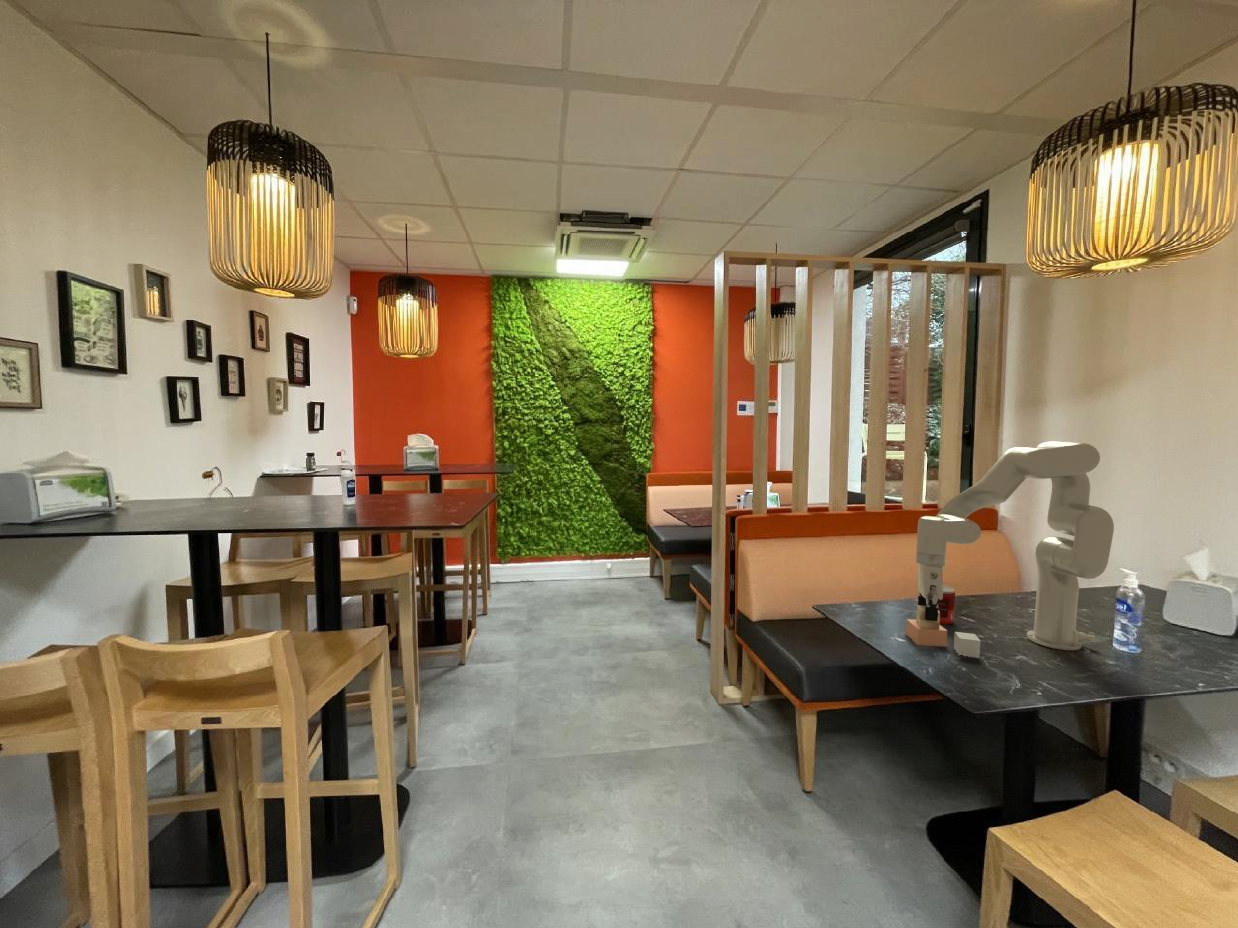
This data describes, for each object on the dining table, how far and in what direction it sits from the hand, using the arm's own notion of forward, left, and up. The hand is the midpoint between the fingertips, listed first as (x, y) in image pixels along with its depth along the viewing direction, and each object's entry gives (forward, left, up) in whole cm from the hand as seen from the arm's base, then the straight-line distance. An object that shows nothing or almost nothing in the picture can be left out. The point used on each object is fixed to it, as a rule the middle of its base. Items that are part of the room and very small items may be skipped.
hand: (927, 614), depth 158 cm
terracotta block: (0, 0, -8) cm, 8 cm away
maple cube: (0, 0, -3) cm, 3 cm away
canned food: (-8, -20, -8) cm, 23 cm away
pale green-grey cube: (-9, +6, -8) cm, 13 cm away
